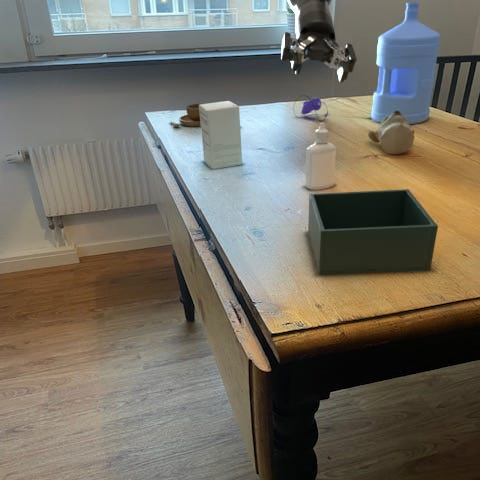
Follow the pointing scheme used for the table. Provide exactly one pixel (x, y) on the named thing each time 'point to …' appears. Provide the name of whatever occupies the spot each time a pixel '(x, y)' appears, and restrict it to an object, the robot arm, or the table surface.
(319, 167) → the eye dropper bottle
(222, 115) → the white packaging box
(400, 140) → the ceramic sculpture
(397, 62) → the water jug
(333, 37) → the robot arm
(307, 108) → the game controller
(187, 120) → the place setting
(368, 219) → the storage bin
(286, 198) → the table surface
